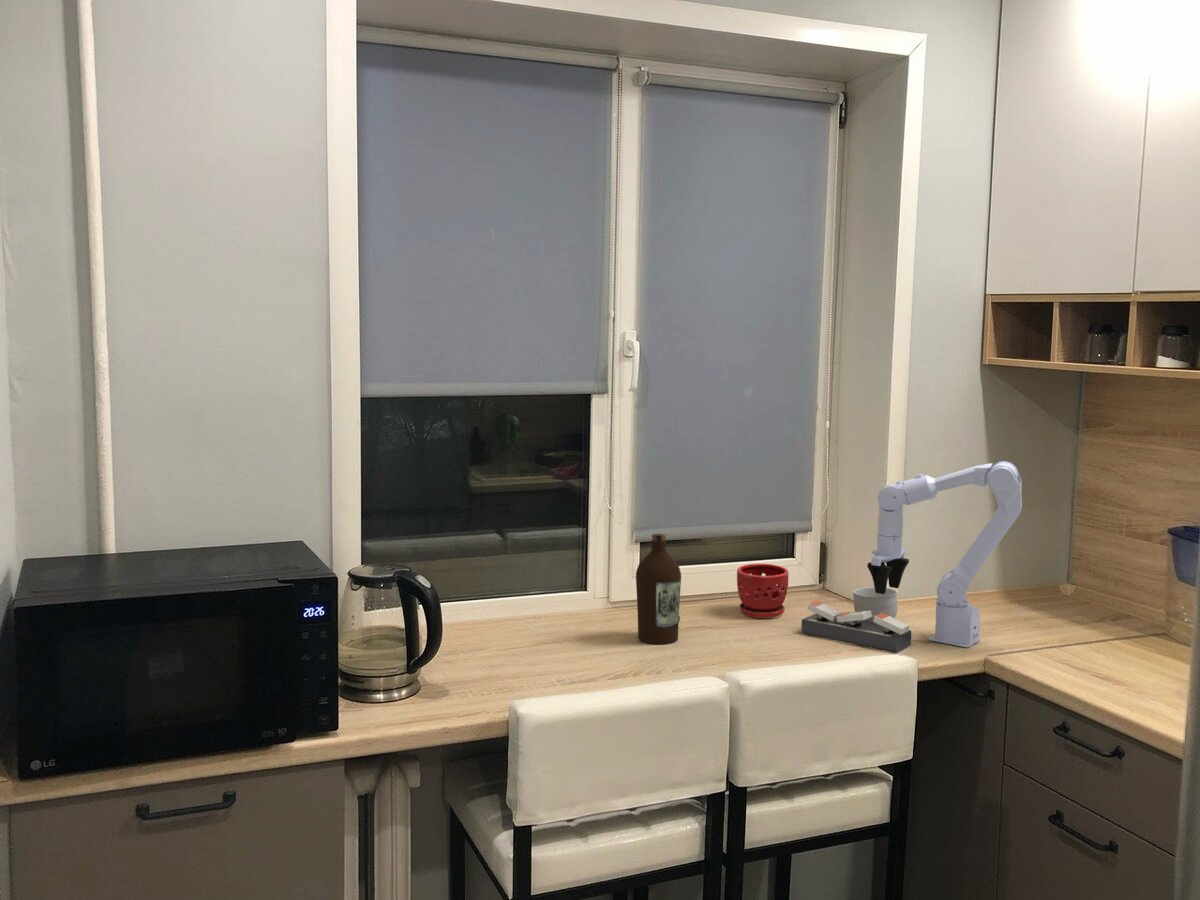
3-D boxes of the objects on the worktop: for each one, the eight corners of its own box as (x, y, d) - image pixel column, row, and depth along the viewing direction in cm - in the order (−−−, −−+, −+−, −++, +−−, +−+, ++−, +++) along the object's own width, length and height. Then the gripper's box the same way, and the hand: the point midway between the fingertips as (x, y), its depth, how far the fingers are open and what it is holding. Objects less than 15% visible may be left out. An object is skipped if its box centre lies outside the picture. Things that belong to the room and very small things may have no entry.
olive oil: (626, 637, 241) (627, 533, 238) (662, 630, 247) (663, 528, 244) (653, 648, 232) (654, 540, 229) (689, 640, 238) (690, 535, 235)
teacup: (887, 630, 247) (888, 598, 246) (845, 622, 253) (846, 591, 252) (907, 617, 258) (908, 587, 257) (867, 611, 264) (868, 581, 263)
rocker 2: (872, 616, 238) (870, 609, 238) (864, 619, 235) (862, 613, 235) (845, 618, 242) (844, 612, 242) (837, 622, 239) (836, 615, 239)
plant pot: (726, 611, 264) (727, 566, 263) (768, 605, 270) (769, 561, 268) (754, 623, 252) (755, 576, 251) (798, 617, 258) (799, 571, 257)
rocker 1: (840, 617, 243) (842, 611, 243) (832, 621, 240) (834, 615, 240) (815, 605, 247) (816, 599, 247) (807, 609, 244) (808, 603, 244)
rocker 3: (908, 630, 232) (910, 624, 232) (900, 634, 229) (902, 628, 229) (880, 617, 236) (882, 611, 236) (872, 621, 233) (874, 615, 233)
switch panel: (910, 645, 234) (911, 625, 234) (896, 653, 228) (896, 632, 228) (817, 626, 250) (818, 607, 249) (801, 633, 244) (801, 614, 243)
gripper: (887, 528, 250) (884, 582, 251) (860, 536, 239) (857, 593, 240) (914, 532, 245) (911, 587, 247) (888, 540, 234) (885, 598, 236)
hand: (887, 590), depth 243 cm, fingers open, 7 cm apart
